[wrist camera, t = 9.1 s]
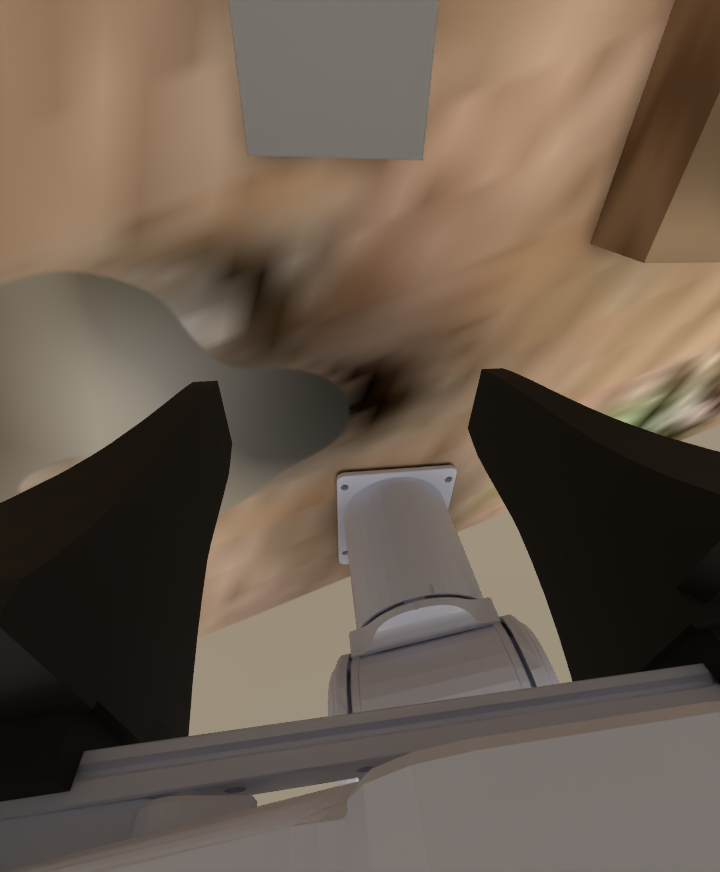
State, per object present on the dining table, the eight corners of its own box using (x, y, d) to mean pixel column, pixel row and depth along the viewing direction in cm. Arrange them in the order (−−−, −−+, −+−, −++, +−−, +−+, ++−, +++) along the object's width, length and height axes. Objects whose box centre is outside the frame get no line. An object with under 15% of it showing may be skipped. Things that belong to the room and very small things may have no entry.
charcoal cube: (390, 155, 15) (422, 160, 11) (261, 151, 15) (247, 155, 11) (401, -40, 12) (451, -127, 8) (239, -55, 12) (209, -155, 8)
